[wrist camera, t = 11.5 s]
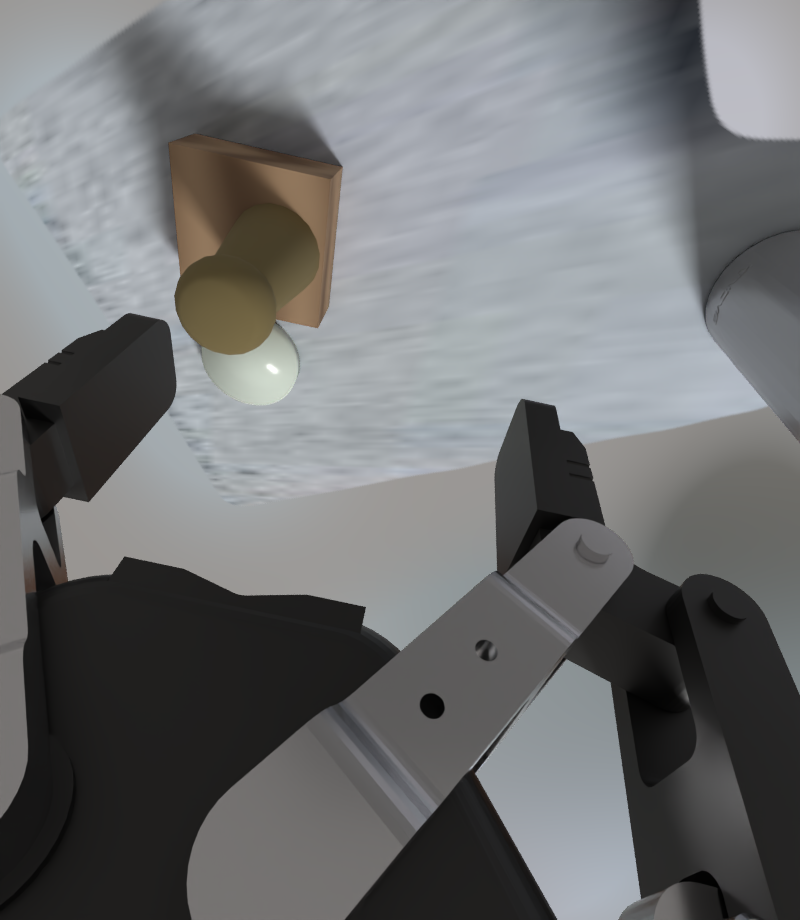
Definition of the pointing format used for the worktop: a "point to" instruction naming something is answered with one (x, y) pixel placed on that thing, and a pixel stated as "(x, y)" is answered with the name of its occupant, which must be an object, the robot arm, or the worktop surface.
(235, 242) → the olive stamp handle
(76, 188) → the worktop surface
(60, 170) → the worktop surface
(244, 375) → the white domed disc
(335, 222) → the walnut plinth
